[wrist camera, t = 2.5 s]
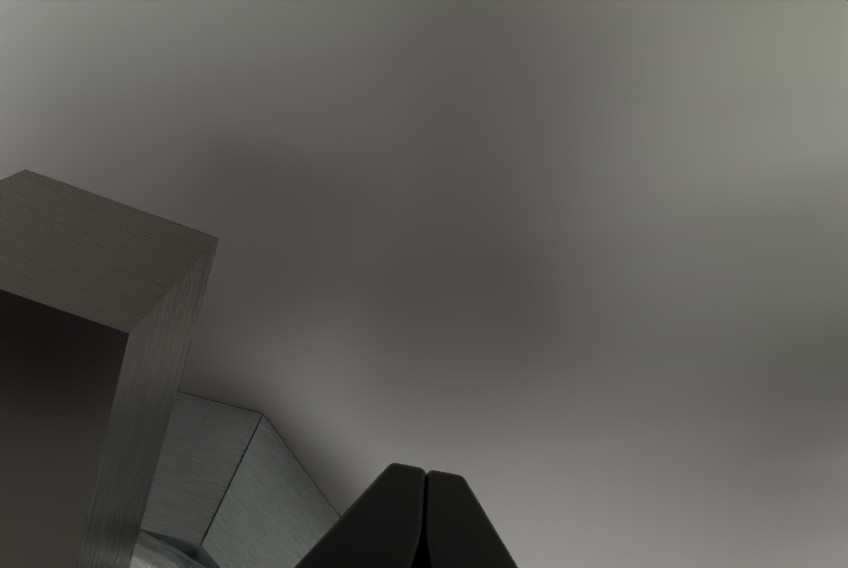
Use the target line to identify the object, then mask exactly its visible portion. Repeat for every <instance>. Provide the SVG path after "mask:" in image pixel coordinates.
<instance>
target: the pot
mask: <svg viewBox="0 0 848 568" xmlns="http://www.w3.org/2000/svg"><path fill="white" fill-rule="evenodd" d="M338 519H339V516H338V515H337V514H336V512H335V511H334V510H333V508H332V507H331V506H330V504H329V503H328V501H327V500H326V499H325V497H324V496H323V495H322V493H321V492H320V491H319V489H318V488H317V487H316V485H315V484H314V483H313V481H312V480H311V478H310V477H309V476H308V474H307V473H306V472H305V470H304V469H303V468H302V466H301V465H300V464H299V462H298V461H297V460H296V458H295V457H294V456H293V454H292V453H291V451H290V450H289V449H288V447H287V446H286V445H285V443H284V442H283V441H282V439H281V438H280V437H279V435H278V434H277V433H276V431H275V430H274V428H273V427H272V426H271V424H270V423H269V422H268V420H267V419H266V418H265V416H264V415H263V416H262V414H260V413H256V412H252V411H249V410H245V409H241V408H237V407H233V406H229V405H226V404H222V403H218V402H214V401H210V400H207V399H203V398H199V397H195V396H191V395H187V394H184V393H180V392H177V395H176V398H175V402H174V406H173V409H172V413H171V417H170V421H169V424H168V428H167V432H166V435H165V439H164V443H163V446H162V450H161V454H160V457H159V461H158V465H157V469H156V472H155V476H154V480H153V483H152V487H151V491H150V494H149V498H148V502H147V505H146V509H145V513H144V516H143V520H142V524H141V528H140V531H142V532H144V533H146V534H148V535H150V536H152V537H154V538H156V539H158V540H160V541H162V542H164V543H166V544H168V545H170V546H172V547H174V548H176V549H178V550H179V551H181V552H183V553H184V554H186V555H187V556H189V557H191V558H192V559H194V560H195V561H197V562H199V563H200V564H202V565H203V566H205V567H206V568H294V567H295V566H296V565H297V564H298V563H299V562H300V560H301V559H302V558H303V557H304V556H305V555H306V554H307V553H308V552H309V551H310V550H311V549H312V548H313V546H314V545H315V544H316V543H317V542H318V541H319V540H320V539H321V538H322V537H323V536H324V535H325V533H326V532H327V531H328V530H329V529H330V528H331V527H332V526H333V525H334V524H335V523H336V522H337V521H338Z"/></svg>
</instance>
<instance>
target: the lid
mask: <svg viewBox="0 0 848 568" xmlns="http://www.w3.org/2000/svg"><path fill="white" fill-rule="evenodd" d="M218 240H219V238H216V237H214V236H211V235H208V234H205V233H202V232H200V231H197V230H194V229H191V228H188V227H186V226H183V225H180V224H177V223H174V222H172V221H169V220H166V219H163V218H160V217H158V216H155V215H152V214H149V213H146V212H144V211H141V210H138V209H135V208H132V207H130V206H127V205H124V204H121V203H118V202H116V201H113V200H110V199H107V198H104V197H101V196H99V195H96V194H93V193H90V192H87V191H85V190H82V189H79V188H76V187H73V186H71V185H68V184H65V183H62V182H59V181H57V180H54V179H51V178H48V177H45V176H43V175H40V174H37V173H34V172H31V171H29V170H26V169H25V170H23V171H21V172H18V173H16V174H14V175H12V176H10V177H7V178H5V179H3V180H1V181H0V568H206V567H205V566H203V565H202V564H200V563H199V562H197V561H195V560H194V559H192V558H191V557H189V556H187V555H186V554H184V553H183V552H181V551H179V550H178V549H176V548H174V547H172V546H170V545H168V544H166V543H164V542H162V541H160V540H158V539H156V538H154V537H152V536H150V535H148V534H146V533H144V532H142V531H140V528H141V524H142V520H143V516H144V513H145V509H146V505H147V502H148V498H149V494H150V491H151V487H152V483H153V480H154V476H155V472H156V469H157V465H158V461H159V457H160V454H161V450H162V446H163V443H164V439H165V435H166V432H167V428H168V424H169V421H170V417H171V413H172V409H173V406H174V402H175V398H176V395H177V391H178V387H179V384H180V380H181V376H182V373H183V369H184V365H185V362H186V358H187V354H188V350H189V347H190V343H191V339H192V336H193V332H194V328H195V325H196V321H197V317H198V314H199V310H200V306H201V302H202V299H203V295H204V291H205V288H206V284H207V280H208V277H209V273H210V269H211V266H212V262H213V258H214V255H215V251H216V247H217V243H218Z"/></svg>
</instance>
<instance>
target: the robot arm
mask: <svg viewBox="0 0 848 568" xmlns="http://www.w3.org/2000/svg"><path fill="white" fill-rule="evenodd" d="M294 568H518V567H517V565H516V563H515V562H514V560H513V558H512V557H511V555H510V553H509V552H508V550H507V548H506V547H505V545H504V543H503V542H502V540H501V538H500V537H499V535H498V533H497V532H496V530H495V528H494V527H493V525H492V523H491V522H490V520H489V518H488V517H487V515H486V513H485V512H484V510H483V508H482V507H481V505H480V503H479V502H478V500H477V498H476V497H475V495H474V493H473V492H472V490H471V488H470V487H469V485H468V483H467V482H466V480H465V479H464V478H463V477H462V476H460V475H456V474H451V473H446V472H440V471H435V470H431V471H429V472H428V473H427V475H426V472H425V470H423V469H422V468H419V467H414V466H409V465H403V464H398V463H392V464H390V465H389V466H388V467H387V468H386V469H385V470H384V471H383V472H382V473H381V474H380V475H379V476H378V477H377V479H376V480H375V481H374V482H373V483H372V484H371V485H370V486H369V487H368V488H367V489H366V490H365V491H364V493H363V494H362V495H361V496H360V497H359V498H358V499H357V500H356V501H355V502H354V503H353V504H352V505H351V507H350V508H349V509H348V510H347V511H346V512H345V513H344V514H343V515H342V516H341V517H340V518H339V519H338V521H337V522H336V523H335V524H334V525H333V526H332V527H331V528H330V529H329V530H328V531H327V532H326V533H325V535H324V536H323V537H322V538H321V539H320V540H319V541H318V542H317V543H316V544H315V545H314V546H313V548H312V549H311V550H310V551H309V552H308V553H307V554H306V555H305V556H304V557H303V558H302V559H301V560H300V562H299V563H298V564H297V565H296V566H295V567H294Z"/></svg>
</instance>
